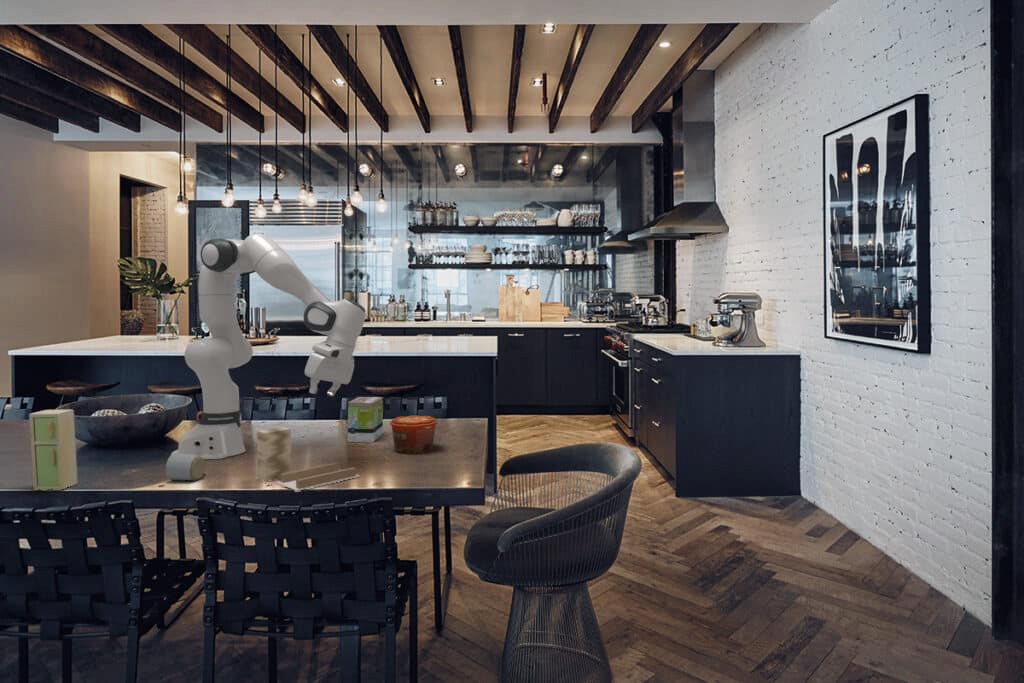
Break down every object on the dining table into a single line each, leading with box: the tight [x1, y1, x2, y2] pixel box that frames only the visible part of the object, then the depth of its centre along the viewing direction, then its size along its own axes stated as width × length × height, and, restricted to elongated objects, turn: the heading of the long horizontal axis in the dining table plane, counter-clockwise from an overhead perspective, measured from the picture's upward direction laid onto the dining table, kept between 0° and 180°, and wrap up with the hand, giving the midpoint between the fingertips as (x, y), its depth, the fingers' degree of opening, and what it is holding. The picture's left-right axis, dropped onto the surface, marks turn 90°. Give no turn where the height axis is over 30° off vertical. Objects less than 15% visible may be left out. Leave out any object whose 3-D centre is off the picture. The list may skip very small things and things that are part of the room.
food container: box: [389, 415, 438, 455], centre depth 227 cm, size 16×16×11 cm
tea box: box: [347, 396, 384, 443], centre depth 245 cm, size 15×10×15 cm, turn 179°
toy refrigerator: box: [28, 409, 78, 491], centre depth 180 cm, size 8×7×21 cm
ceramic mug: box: [165, 453, 207, 481], centre depth 190 cm, size 11×8×8 cm
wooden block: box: [256, 426, 293, 482], centre depth 191 cm, size 8×4×14 cm, turn 138°
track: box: [275, 462, 361, 493], centre depth 188 cm, size 20×11×3 cm, turn 137°
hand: (321, 394), depth 201 cm, fingers open, 8 cm apart
